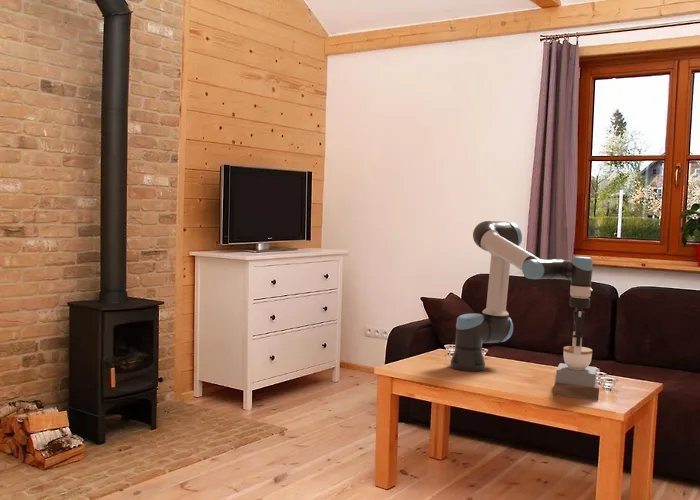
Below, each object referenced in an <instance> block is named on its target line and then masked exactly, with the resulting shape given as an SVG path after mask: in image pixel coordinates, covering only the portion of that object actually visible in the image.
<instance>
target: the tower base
mask: <svg viewBox="0 0 700 500" xmlns="http://www.w3.org/2000/svg"><path fill="white" fill-rule="evenodd" d="M553 387H554V389H553V391H554V392H553V396H556V395H560V396H559V397H566V396H568V398H575V399H576V398H577V399H587V400H597V401H599V395H600V386H599V381H598V379H597V378H596V382H595V387H587V386H578V385H570V384H562V383H556V374H555V375H554V386H553Z"/></svg>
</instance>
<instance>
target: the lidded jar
mask: <svg viewBox="0 0 700 500" xmlns="http://www.w3.org/2000/svg"><path fill="white" fill-rule="evenodd" d="M562 351H563V361H564V364H566V365H567V366H568V368H569V369H573V370H585V368H587V367H588V366H590V364H591V362H592V357H593V349H592V348H589V347H585V346H582V347H581V355H574V354H573V353H574V346H572V345H566V346H563V350H562Z"/></svg>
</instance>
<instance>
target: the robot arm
mask: <svg viewBox="0 0 700 500" xmlns="http://www.w3.org/2000/svg"><path fill="white" fill-rule="evenodd" d="M472 238H473V239H472V240H473V241H474V243H475V245H476V246H477V247H479V248H480V249H481V250H483V251H485V252H488V253H489V254H490V255H491V256H490V264H489V265H490V266H489V273H488V274H489V275H488V276H489V277H488V285H487V286H488V287H487V296H486V297H487V298H486V306H485V307H486V308H484V309H483V310H482V311H481V313H482V314H481V313H476V312H475V313H464V314H461V315H459V316H458V317H457V318H456V324H455V341H454V342H455V346H454V347H455V348H454V351H453V353H452V357H451V359H450V362H449V365H450V368H452V369H454V370H458V371H463V372H465V371H466V372H482V371H484V370H485V369H486V361H485V359H484V355H483V354H484V353H483V344H495V343H496V344H498V343H503V342H506V341H508V340H509V339H510V338H511V337H512V335H513V332H514V323H513V320H512V319H511V317H510V316H509V315H510V314H509V312H508V311H507V300H508V291H509V279H510V269H511V265H513V266H514V267H516V268H518V269H519V270H521V272H522V275H523V276H524V277H525V278H526V279H529V280H530V279H531V280H548V279H549V280H555V279H556V280H558V279H559V280H560V279H561V280H568V281H570V286H569V289H570V290H569V295H570V297H569V303H568V305H569V307H571V308H574V311H573V314H572V315H573V326H572V328H573V332H572V345H571V346H574V353H573V354H574V355H581V347H583V346H582V345H583V344H582V343H583V337H584V335H583V333H584V332H583V330H584V327H583V326H584V321H585V311H583V310H584V309H589V308H591V298H590V297H591V292H593V289H592V277H593V270H594V268H593V258H592V257H589V256H588V257H587V256H573V257H572V260H568V259H562V258H552V259H541V258H539V257H537V256H536V255H534V254H532V253H531V252H528V250H525V249H523V248H522V247H520V246H521V244H522V240H523V234H522V231H521V228H519V225H517V224H516V223H515V222H512V221H503V220H501V221H499V220H498V221H497V220H492V221H491V220H485V221H482V222H480V223H478V224H477V225H476V226H475V227H474V229H473V232H472Z"/></svg>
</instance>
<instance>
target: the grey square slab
mask: <svg viewBox="0 0 700 500" xmlns="http://www.w3.org/2000/svg"><path fill="white" fill-rule="evenodd" d="M597 368H598V367H596V366H590V365H589V366H588V367H587V368H585V370H573V369H569V368H568V366H567V365H566V363H561V362H560V363H559V364H558V366H557V368H556V373H555V375H556V383H562V384H570V385H578V386H587V387H595V382H596V379H597Z"/></svg>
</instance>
